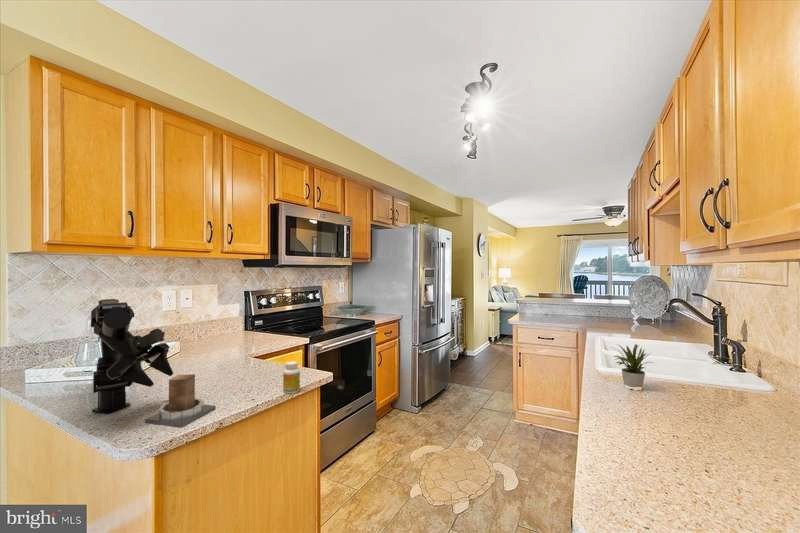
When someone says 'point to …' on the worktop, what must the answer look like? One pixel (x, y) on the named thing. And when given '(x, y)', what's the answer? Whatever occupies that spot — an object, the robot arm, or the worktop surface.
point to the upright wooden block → (181, 392)
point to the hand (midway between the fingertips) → (162, 379)
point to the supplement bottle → (291, 378)
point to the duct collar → (180, 414)
